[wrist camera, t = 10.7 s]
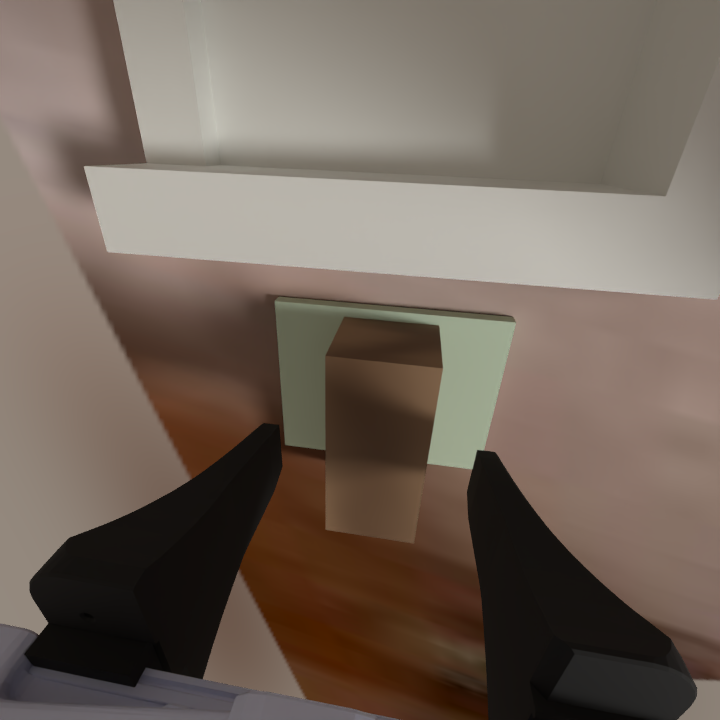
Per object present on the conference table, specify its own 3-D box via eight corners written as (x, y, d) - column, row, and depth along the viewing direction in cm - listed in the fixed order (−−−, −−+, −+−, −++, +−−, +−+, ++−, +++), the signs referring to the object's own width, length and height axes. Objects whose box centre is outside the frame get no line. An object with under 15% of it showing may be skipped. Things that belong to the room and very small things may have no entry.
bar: (439, 325, 16) (443, 368, 13) (415, 482, 20) (413, 543, 17) (343, 316, 16) (325, 355, 13) (340, 472, 21) (325, 529, 18)
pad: (513, 316, 16) (515, 322, 15) (477, 461, 20) (478, 470, 19) (279, 296, 17) (274, 301, 16) (288, 437, 21) (285, 445, 20)
